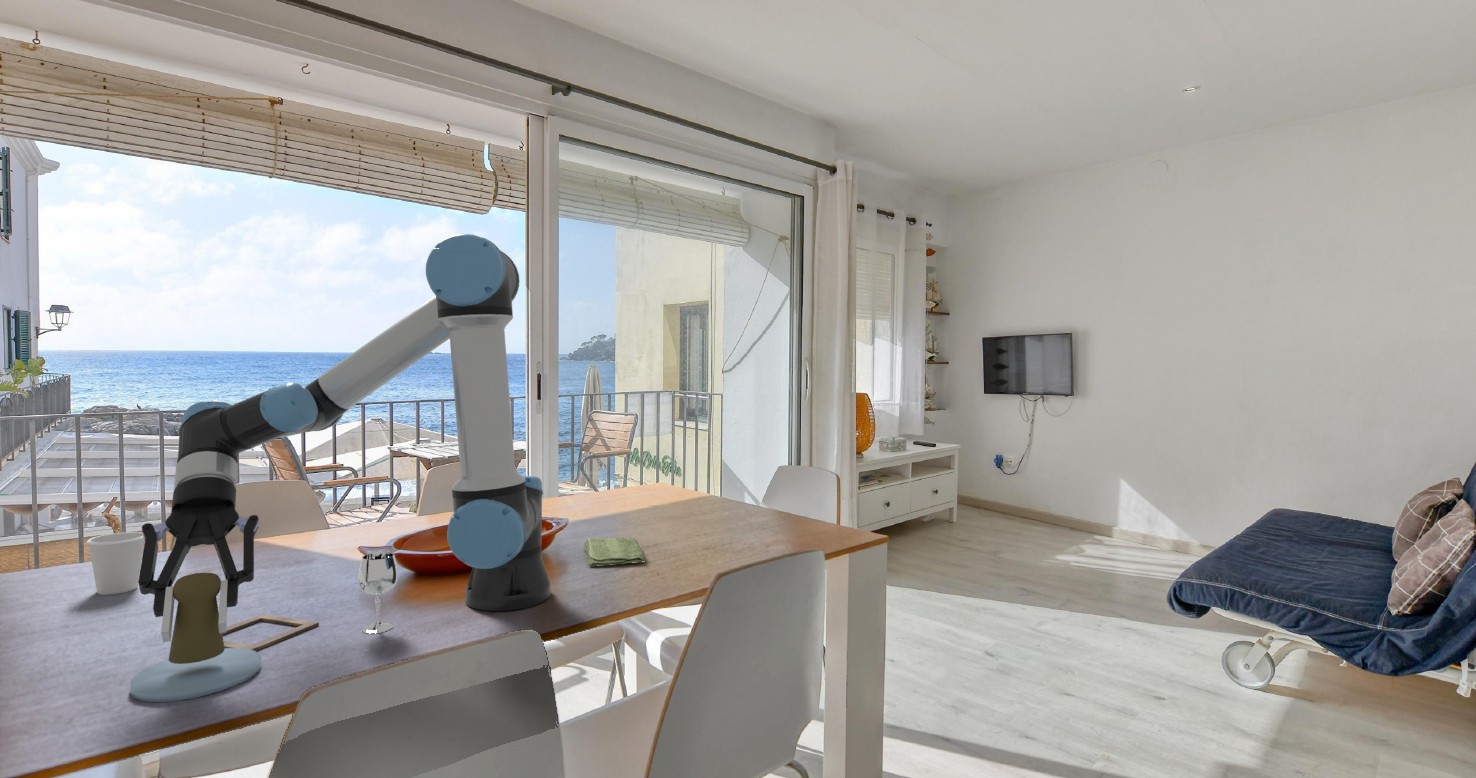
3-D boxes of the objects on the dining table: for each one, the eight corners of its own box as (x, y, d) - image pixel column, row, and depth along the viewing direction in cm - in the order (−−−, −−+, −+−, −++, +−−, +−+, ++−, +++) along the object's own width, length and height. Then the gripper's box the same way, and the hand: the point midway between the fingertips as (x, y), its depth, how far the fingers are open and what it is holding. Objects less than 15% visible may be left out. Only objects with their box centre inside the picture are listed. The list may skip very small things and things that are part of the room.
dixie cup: (156, 586, 131) (156, 534, 131) (101, 599, 123) (100, 544, 123) (132, 580, 134) (132, 529, 134) (77, 592, 127) (77, 538, 127)
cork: (193, 665, 90) (194, 583, 90) (156, 660, 91) (156, 579, 91) (235, 647, 96) (236, 570, 96) (200, 643, 97) (200, 566, 97)
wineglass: (387, 619, 116) (388, 549, 116) (403, 627, 113) (404, 555, 113) (351, 628, 112) (352, 556, 112) (366, 638, 108) (367, 562, 108)
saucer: (285, 663, 99) (285, 655, 99) (182, 709, 85) (182, 699, 85) (212, 650, 102) (212, 642, 102) (103, 692, 89) (103, 683, 89)
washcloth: (587, 570, 149) (588, 555, 149) (582, 549, 166) (582, 536, 166) (647, 566, 152) (648, 552, 152) (636, 546, 169) (637, 533, 169)
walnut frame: (319, 625, 113) (319, 622, 113) (249, 653, 102) (249, 650, 102) (263, 616, 117) (263, 613, 117) (189, 643, 105) (189, 639, 105)
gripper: (277, 498, 111) (277, 632, 98) (129, 508, 101) (106, 659, 88) (278, 470, 107) (277, 606, 93) (122, 478, 96) (97, 632, 83)
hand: (194, 631), depth 91 cm, fingers closed on cork, 5 cm apart
